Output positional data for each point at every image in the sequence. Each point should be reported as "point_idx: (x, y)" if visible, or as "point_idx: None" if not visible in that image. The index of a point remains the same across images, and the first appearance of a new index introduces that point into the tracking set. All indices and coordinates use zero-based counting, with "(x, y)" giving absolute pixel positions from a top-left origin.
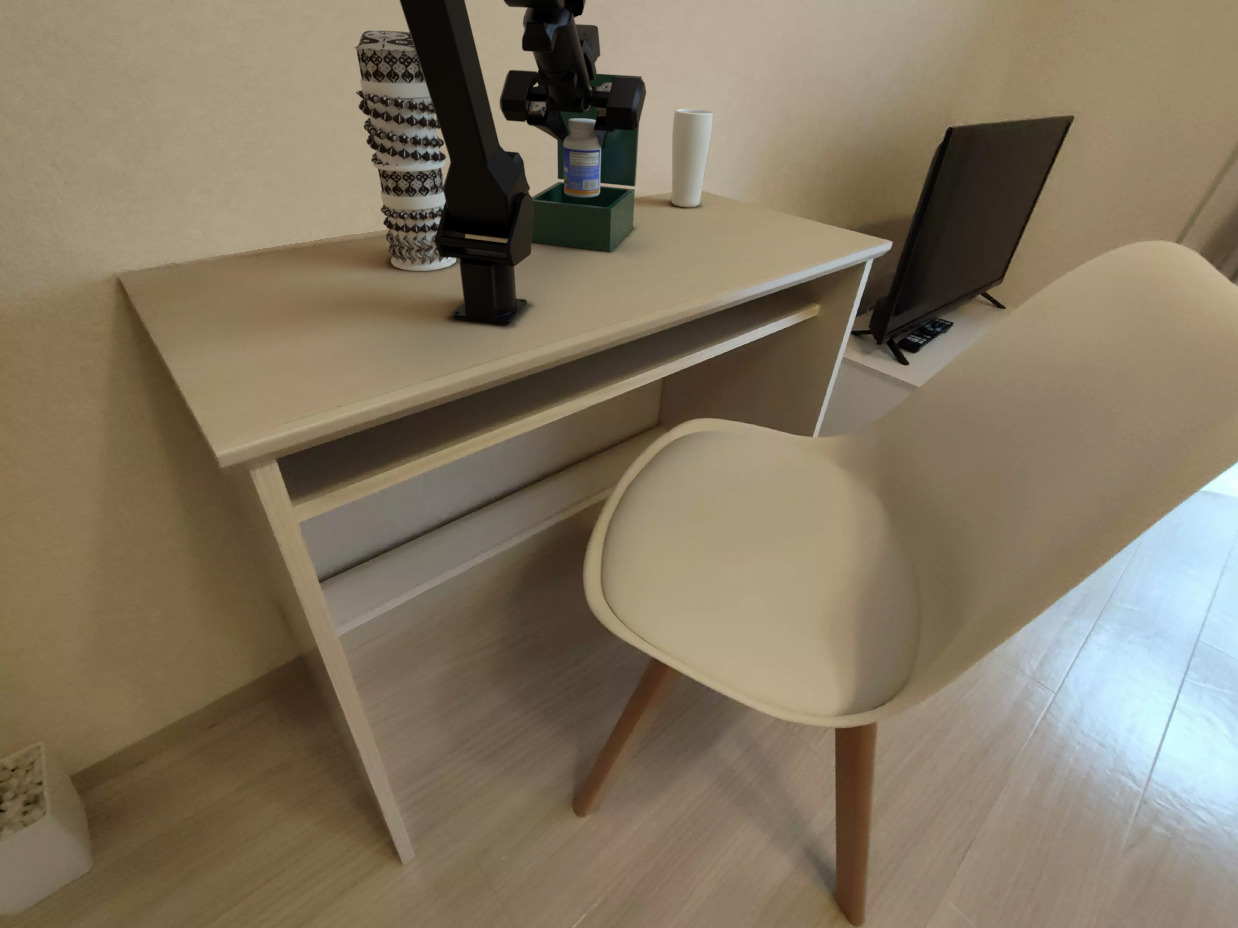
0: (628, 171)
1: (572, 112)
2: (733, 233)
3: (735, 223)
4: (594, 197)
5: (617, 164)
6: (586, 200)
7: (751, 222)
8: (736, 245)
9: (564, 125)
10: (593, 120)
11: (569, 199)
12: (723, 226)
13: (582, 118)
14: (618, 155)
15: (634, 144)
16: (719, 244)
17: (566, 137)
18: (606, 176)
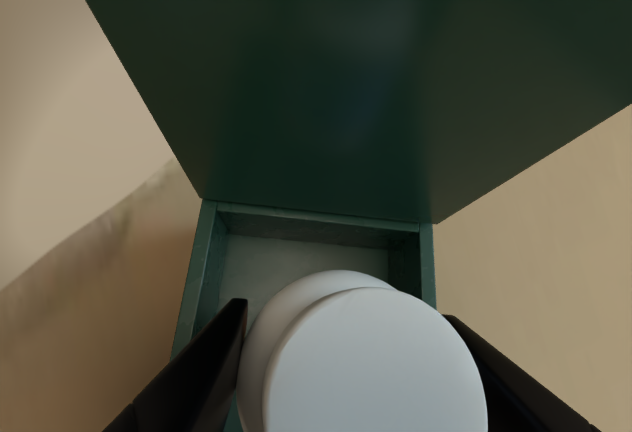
0: (437, 209)
1: (216, 47)
2: (577, 221)
3: (559, 153)
4: (316, 229)
5: (408, 197)
6: (293, 229)
7: (580, 140)
8: (608, 303)
9: (222, 371)
10: (457, 375)
11: (245, 225)
12: (547, 179)
13: (350, 299)
14: (423, 185)
15: (507, 173)
16: (579, 307)
17: (255, 422)
18: (360, 207)
